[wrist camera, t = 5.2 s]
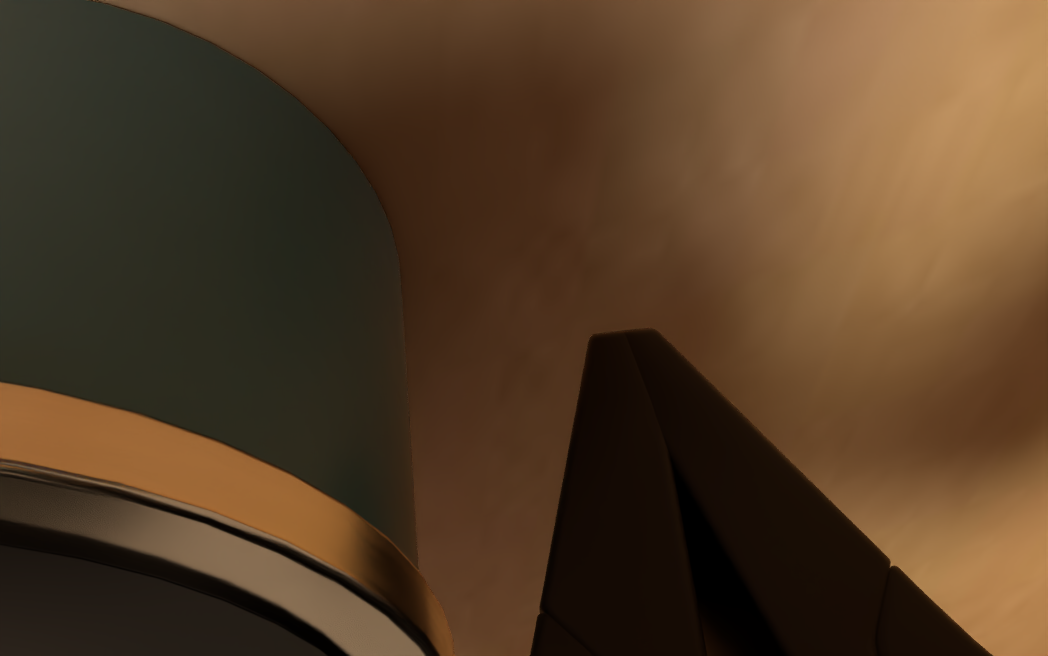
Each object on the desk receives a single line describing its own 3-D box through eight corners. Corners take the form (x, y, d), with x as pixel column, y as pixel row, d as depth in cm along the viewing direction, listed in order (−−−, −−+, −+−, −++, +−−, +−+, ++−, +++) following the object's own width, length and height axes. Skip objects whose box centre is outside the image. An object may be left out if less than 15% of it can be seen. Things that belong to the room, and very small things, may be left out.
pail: (363, -130, 8) (374, 295, 4) (452, 470, 14) (494, 884, 10) (-596, -49, 8) (-1669, 537, 4) (-80, 541, 13) (-260, 1009, 9)
